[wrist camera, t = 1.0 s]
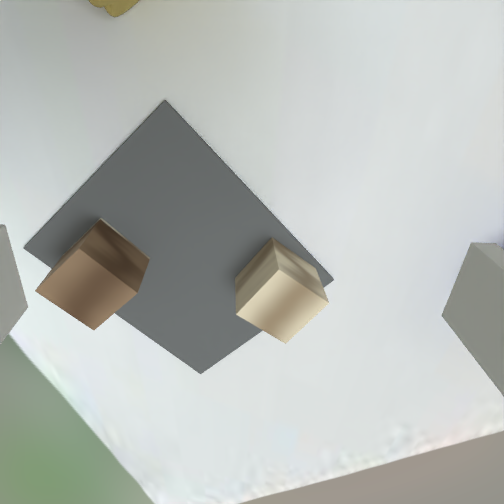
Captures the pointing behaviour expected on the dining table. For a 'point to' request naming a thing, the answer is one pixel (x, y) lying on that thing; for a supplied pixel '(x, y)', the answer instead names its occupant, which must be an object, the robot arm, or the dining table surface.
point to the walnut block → (96, 275)
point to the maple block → (279, 291)
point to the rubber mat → (176, 236)
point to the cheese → (114, 6)
